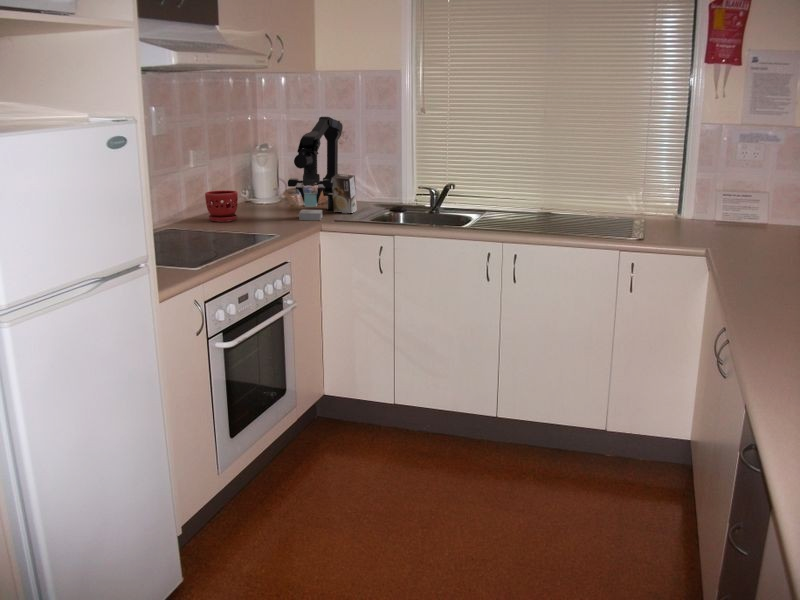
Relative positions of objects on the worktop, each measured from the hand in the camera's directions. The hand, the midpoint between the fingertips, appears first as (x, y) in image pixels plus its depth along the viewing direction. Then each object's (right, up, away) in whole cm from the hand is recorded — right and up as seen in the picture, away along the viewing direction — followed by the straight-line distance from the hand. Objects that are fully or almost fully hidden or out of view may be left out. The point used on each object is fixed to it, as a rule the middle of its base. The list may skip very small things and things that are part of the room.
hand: (310, 203), depth 340 cm
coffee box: (+13, -2, +18) cm, 23 cm away
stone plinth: (0, -6, +2) cm, 7 cm away
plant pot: (-36, -8, -6) cm, 38 cm away
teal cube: (0, -1, 0) cm, 1 cm away
